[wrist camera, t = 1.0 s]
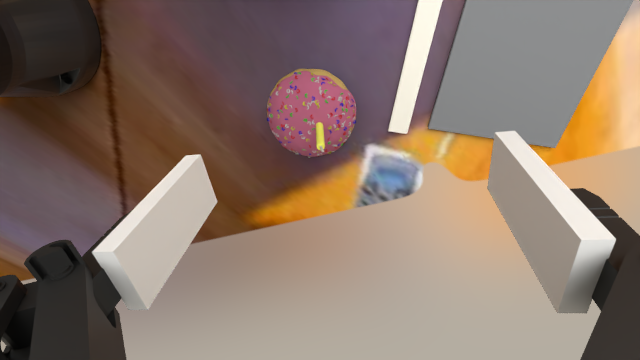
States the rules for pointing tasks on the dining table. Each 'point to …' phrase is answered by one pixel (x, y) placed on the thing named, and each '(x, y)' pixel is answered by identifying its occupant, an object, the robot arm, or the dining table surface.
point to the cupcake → (311, 112)
